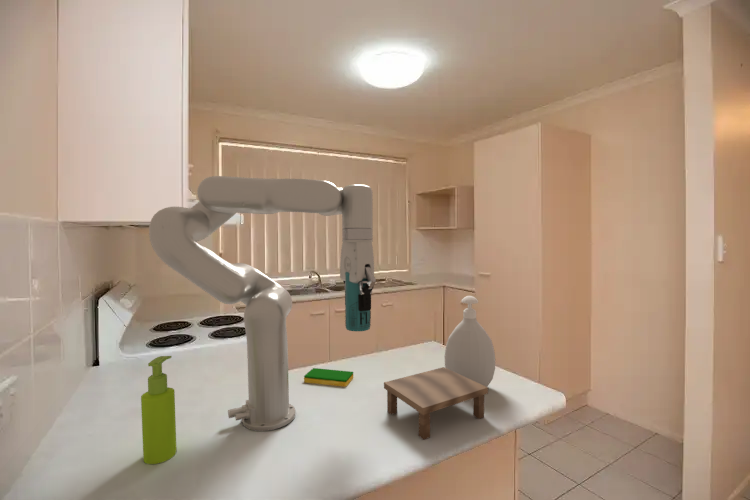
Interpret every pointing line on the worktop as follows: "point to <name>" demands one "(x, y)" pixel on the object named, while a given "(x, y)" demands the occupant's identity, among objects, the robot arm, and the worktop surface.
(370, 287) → the robot arm
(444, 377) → the footstool
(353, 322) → the beverage bottle
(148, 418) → the soap dispenser
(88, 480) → the worktop surface
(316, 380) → the dish sponge
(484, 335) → the soap bottle
